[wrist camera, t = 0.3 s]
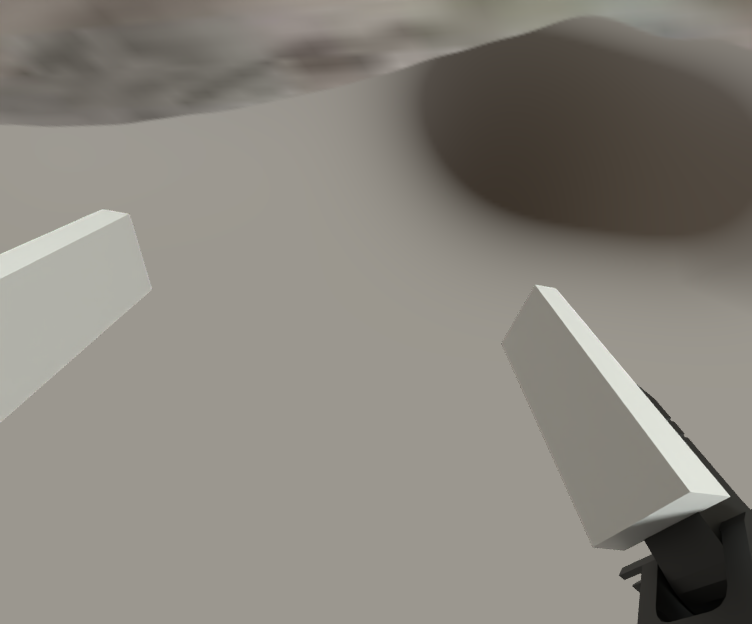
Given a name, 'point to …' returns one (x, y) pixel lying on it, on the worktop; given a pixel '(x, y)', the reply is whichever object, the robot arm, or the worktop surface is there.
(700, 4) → the worktop surface
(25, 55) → the worktop surface
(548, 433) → the robot arm
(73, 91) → the worktop surface
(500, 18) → the worktop surface
